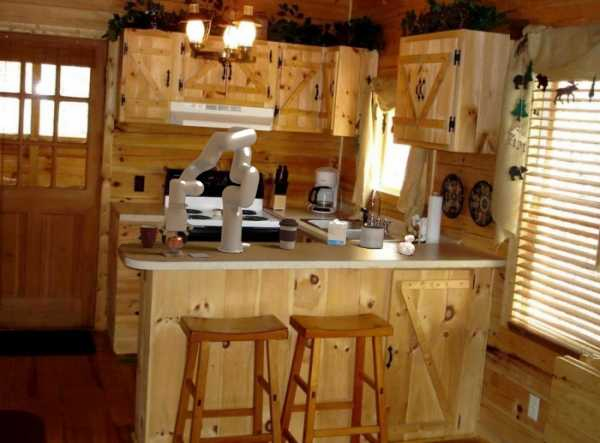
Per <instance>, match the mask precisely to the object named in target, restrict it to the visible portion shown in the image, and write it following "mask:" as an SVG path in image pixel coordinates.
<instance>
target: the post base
mask: <svg viewBox="0 0 600 443" xmlns="http://www.w3.org/2000/svg"><path fill="white" fill-rule="evenodd" d="M181 248H182V247H180V248H172V247H168V249H167V250H160V254H161V255H163V256H164V257H166V258H189V255H188V254H189V253H186V252H184V251H183V250H181Z"/></svg>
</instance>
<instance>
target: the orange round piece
mask: <svg viewBox="0 0 600 443" xmlns="http://www.w3.org/2000/svg"><path fill="white" fill-rule="evenodd" d="M183 245H184V243H183V236H179V235H170V236H167V238H166V247H168V248H170V247H172V248H183Z"/></svg>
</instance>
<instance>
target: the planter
mask: <svg viewBox="0 0 600 443" xmlns="http://www.w3.org/2000/svg"><path fill="white" fill-rule="evenodd" d="M360 228H361V229H360V237H359V238H360V240H359V246H360V247H361V248H365V249H369V250H370V249H371V250H381V249H382V248H383V247H384V239H385V238H384V236H385V227H384V226H380V225H370V224H368V225H367V224H365V225H363V224H362V225H361V227H360Z"/></svg>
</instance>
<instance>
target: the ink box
mask: <svg viewBox="0 0 600 443" xmlns="http://www.w3.org/2000/svg"><path fill="white" fill-rule="evenodd" d="M347 226H348V223H347V222H341V221H340V220H339V219H338V218H335V219H333V221H331V222H328V229H327V242H326V244H327V245H330V246H344V245H346V240H347Z"/></svg>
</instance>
